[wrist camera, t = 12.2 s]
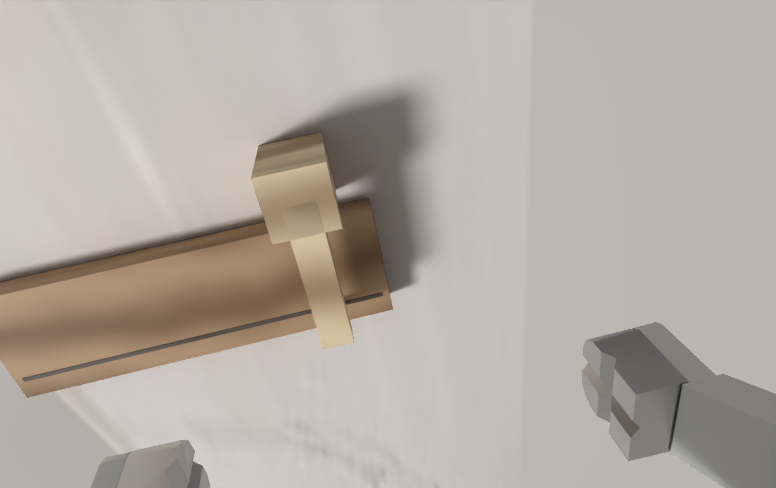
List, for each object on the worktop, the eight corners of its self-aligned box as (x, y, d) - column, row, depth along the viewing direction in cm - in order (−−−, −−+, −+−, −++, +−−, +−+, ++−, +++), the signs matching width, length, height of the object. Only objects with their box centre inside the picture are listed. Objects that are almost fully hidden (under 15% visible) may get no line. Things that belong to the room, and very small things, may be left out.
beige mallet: (258, 145, 32) (250, 178, 26) (321, 131, 32) (326, 161, 27) (306, 300, 37) (307, 353, 32) (359, 288, 38) (369, 338, 32)
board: (-22, 287, 33) (-41, 305, 31) (368, 198, 34) (371, 210, 33) (40, 377, 37) (26, 398, 35) (388, 294, 38) (393, 309, 36)
